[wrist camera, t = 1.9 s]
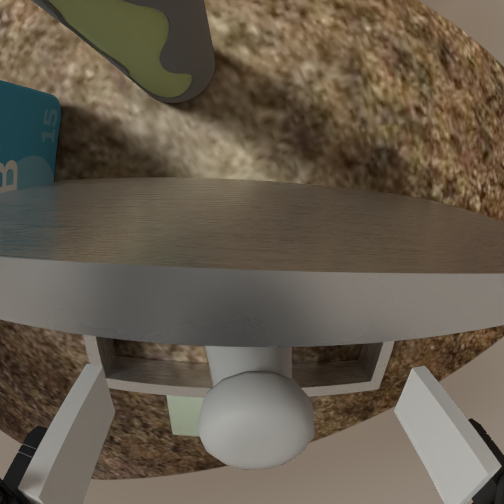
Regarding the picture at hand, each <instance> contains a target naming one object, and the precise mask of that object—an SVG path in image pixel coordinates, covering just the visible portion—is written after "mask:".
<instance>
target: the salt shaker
mask: <svg viewBox="0 0 504 504" xmlns="http://www.w3.org/2000/svg"><path fill="white" fill-rule="evenodd" d="M205 348H206V353H207V358H208V363H209V368H210V373H211V378H212V383H213V388H211V389H210V390H209V391H208V392H207V393H206V395H205V396H204V400H203V403H202V407H201V410H200V414H199V420H198V428H199V434H200V438H201V441H202V443H203V445H204V447H205V450H206V451H207V452H208V453H209V454H211V455H212V456H214V457H215V458H217V459H218V460H220V461H221V462H223V463H225V464H226V465H228V466H232V467H237V468H241V469H244V470H252V469H254V470H255V469H268V468H271V467H275V466H279V465H283V464H285V463H287V462H288V461H290V460H292V459H293V458H295V457H296V456H298V455H299V454H300V453H301V452H302V451H303V450H304V449H305V448H306V447H307V445H308V444H309V443H310V441H311V440H312V438H313V437H314V436H315V431H314V414H313V406H312V404H311V401H310V399H309V397H308V395H307V394H306V393H305V392H304V391H303V390H302V388H301V387H300V386H299V385H298V384H297V383H296V382H295V381H294V380H293V379H292V347H223V346H205Z"/></svg>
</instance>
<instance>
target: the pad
mask: <svg viewBox="0 0 504 504" xmlns="http://www.w3.org/2000/svg"><path fill="white" fill-rule="evenodd" d="M203 400H204V398H198V397H182V396H170V395H167V402H168V409H169V415H170V421H171V427H172V433H173V434H174V435H186V436H200V434H199V428H198V420H199V414H200V410H201V407H202V403H203Z"/></svg>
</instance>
